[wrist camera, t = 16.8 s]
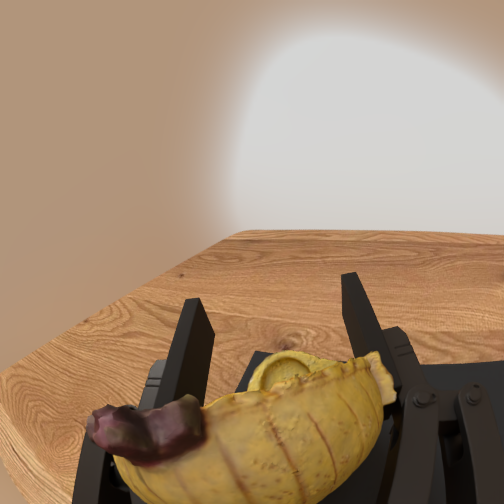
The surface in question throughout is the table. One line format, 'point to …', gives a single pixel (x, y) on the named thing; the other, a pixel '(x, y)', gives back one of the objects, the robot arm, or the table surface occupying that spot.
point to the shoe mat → (372, 468)
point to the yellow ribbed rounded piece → (253, 435)
